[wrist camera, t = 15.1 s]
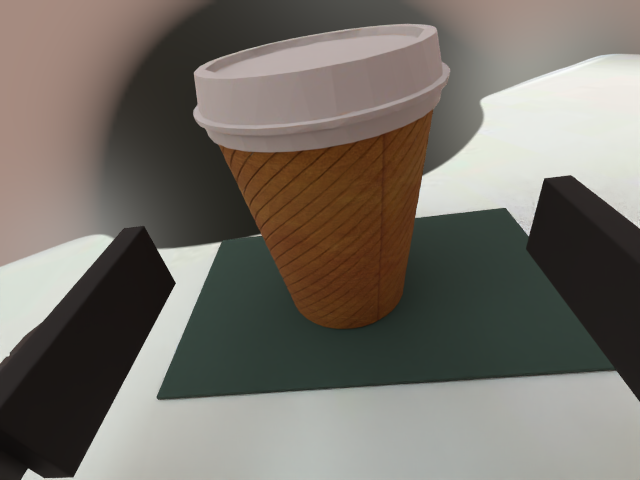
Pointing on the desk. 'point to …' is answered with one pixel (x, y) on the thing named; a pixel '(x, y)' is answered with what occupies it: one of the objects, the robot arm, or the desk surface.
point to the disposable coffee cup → (330, 157)
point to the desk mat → (385, 320)
